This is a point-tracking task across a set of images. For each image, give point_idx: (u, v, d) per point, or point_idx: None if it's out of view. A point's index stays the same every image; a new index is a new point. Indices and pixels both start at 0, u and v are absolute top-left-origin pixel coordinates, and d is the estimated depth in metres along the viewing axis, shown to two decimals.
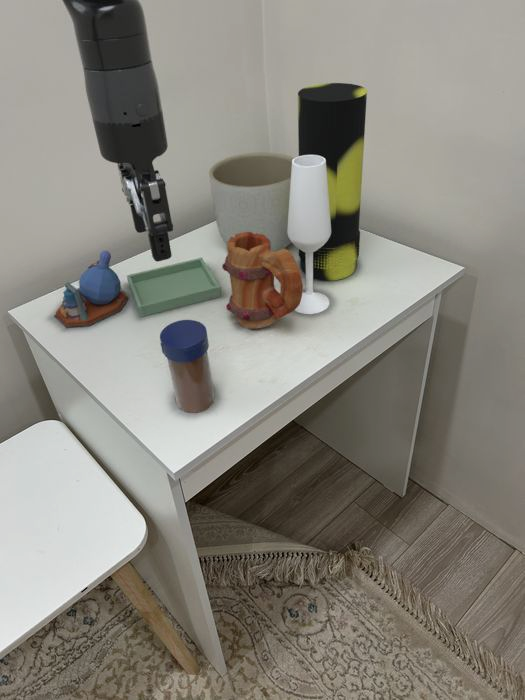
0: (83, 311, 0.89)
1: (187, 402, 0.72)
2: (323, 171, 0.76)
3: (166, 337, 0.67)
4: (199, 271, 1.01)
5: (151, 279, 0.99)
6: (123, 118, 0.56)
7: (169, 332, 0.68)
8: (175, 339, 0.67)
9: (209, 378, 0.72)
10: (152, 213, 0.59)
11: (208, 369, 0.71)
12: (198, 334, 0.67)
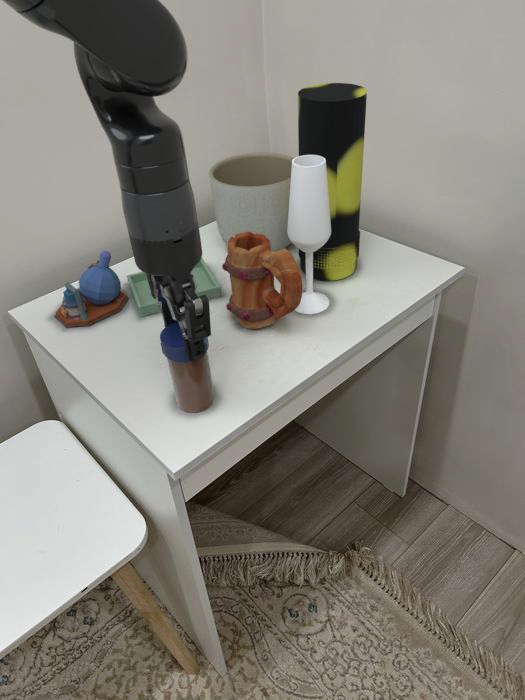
0: (83, 311, 0.89)
1: (187, 402, 0.72)
2: (323, 171, 0.76)
3: (166, 337, 0.67)
4: (199, 271, 1.01)
5: None
6: (165, 236, 0.55)
7: (169, 332, 0.68)
8: (175, 339, 0.67)
9: (209, 378, 0.72)
10: (194, 327, 0.60)
11: (208, 369, 0.71)
12: None
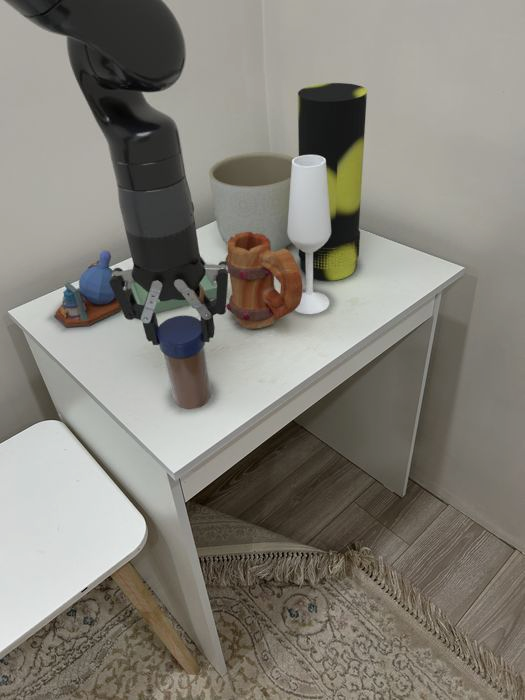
0: (83, 311, 0.89)
1: (186, 398, 0.72)
2: (323, 171, 0.76)
3: (174, 339, 0.67)
4: None
5: None
6: (190, 219, 0.58)
7: (169, 336, 0.67)
8: (183, 335, 0.67)
9: (206, 372, 0.72)
10: (226, 294, 0.64)
11: (205, 364, 0.72)
12: (191, 321, 0.69)
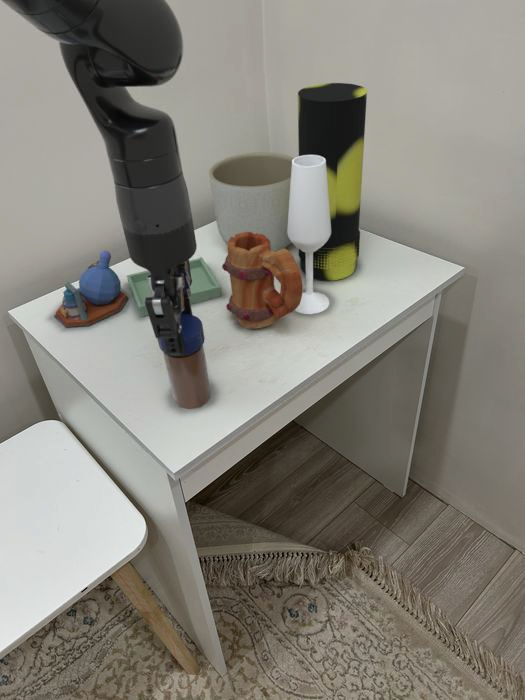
0: (83, 311, 0.89)
1: (186, 398, 0.72)
2: (323, 171, 0.76)
3: (194, 329, 0.68)
4: (199, 271, 1.01)
5: None
6: None
7: (188, 332, 0.67)
8: (190, 324, 0.68)
9: (206, 372, 0.72)
10: None
11: (205, 363, 0.72)
12: None
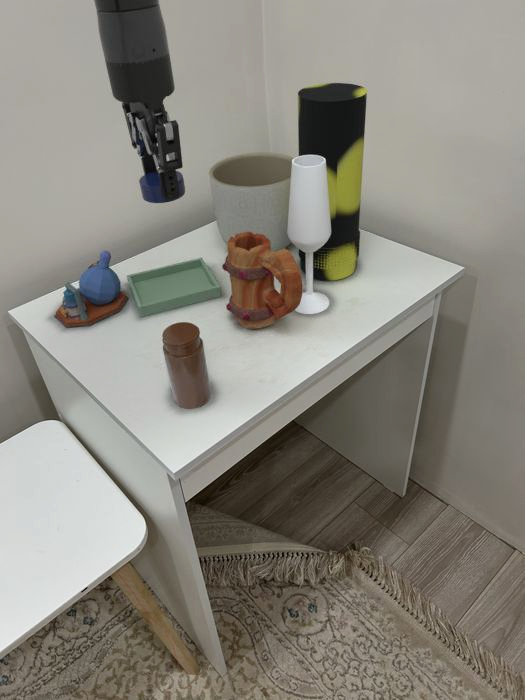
0: (83, 311, 0.89)
1: (186, 398, 0.72)
2: (323, 171, 0.76)
3: None
4: (199, 271, 1.01)
5: (151, 279, 0.99)
6: None
7: None
8: None
9: (206, 372, 0.72)
10: None
11: (205, 363, 0.72)
12: (147, 177, 0.73)
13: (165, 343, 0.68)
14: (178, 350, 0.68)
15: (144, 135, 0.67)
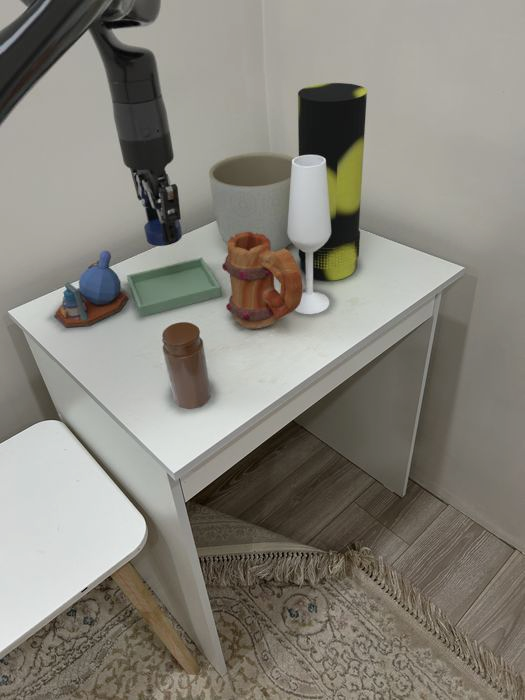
0: (83, 311, 0.89)
1: (186, 398, 0.72)
2: (323, 171, 0.76)
3: None
4: (199, 271, 1.01)
5: (151, 279, 0.99)
6: None
7: None
8: None
9: (206, 372, 0.72)
10: None
11: (205, 363, 0.72)
12: (150, 224, 0.89)
13: (165, 343, 0.68)
14: (178, 350, 0.68)
15: (149, 194, 0.83)
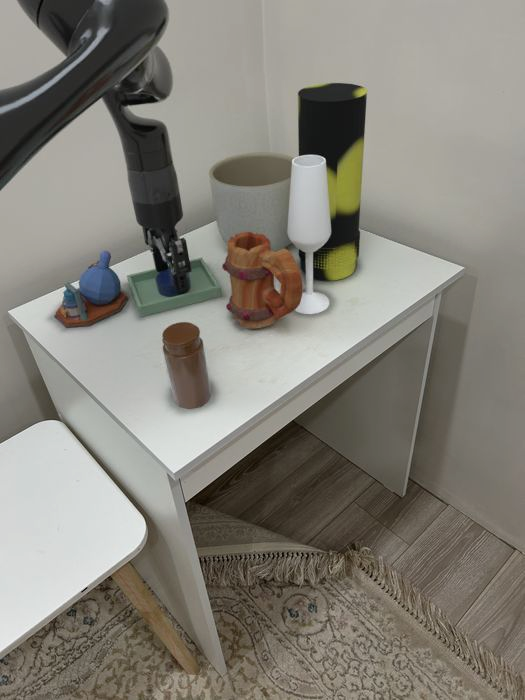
0: (83, 311, 0.89)
1: (186, 398, 0.72)
2: (323, 171, 0.76)
3: None
4: (199, 271, 1.01)
5: (151, 279, 0.99)
6: None
7: None
8: None
9: (206, 372, 0.72)
10: None
11: (205, 363, 0.72)
12: (161, 276, 0.95)
13: (165, 343, 0.68)
14: (178, 350, 0.68)
15: (160, 249, 0.89)
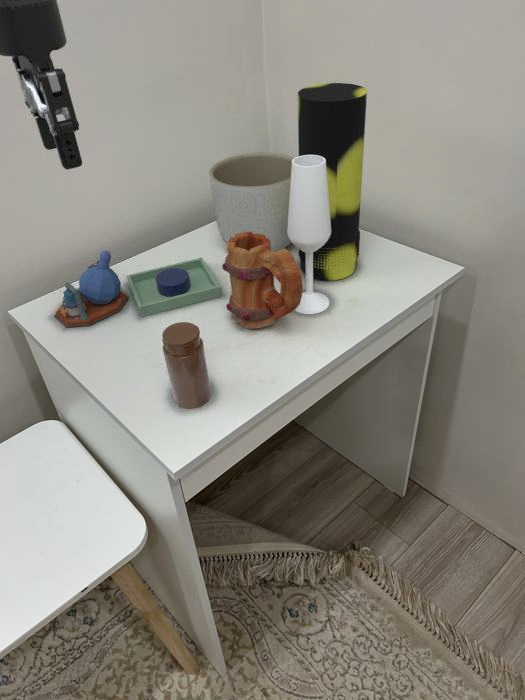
0: (83, 311, 0.89)
1: (186, 398, 0.72)
2: (323, 171, 0.76)
3: (184, 274, 0.96)
4: (199, 271, 1.01)
5: (151, 279, 0.99)
6: None
7: (182, 277, 0.95)
8: (177, 273, 0.96)
9: (206, 372, 0.72)
10: None
11: (205, 363, 0.72)
12: (161, 276, 0.95)
13: (165, 343, 0.68)
14: (178, 350, 0.68)
15: (32, 95, 0.58)
